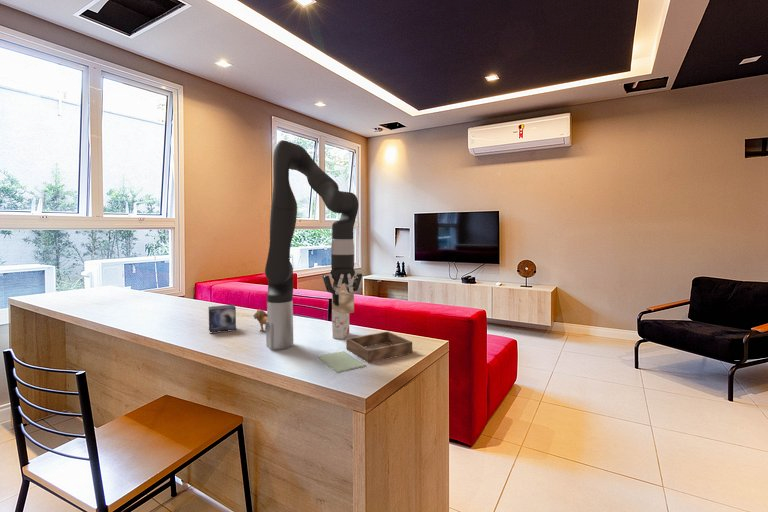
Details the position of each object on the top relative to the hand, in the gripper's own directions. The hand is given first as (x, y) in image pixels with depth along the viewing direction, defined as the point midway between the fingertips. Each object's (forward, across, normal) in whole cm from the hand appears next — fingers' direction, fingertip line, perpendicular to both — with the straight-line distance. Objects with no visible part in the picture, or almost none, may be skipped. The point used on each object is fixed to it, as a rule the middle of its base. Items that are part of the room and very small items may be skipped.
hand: (342, 304), depth 121 cm
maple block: (+2, 0, 0) cm, 2 cm away
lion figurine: (+20, -12, +50) cm, 55 cm away
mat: (+19, -1, 0) cm, 19 cm away
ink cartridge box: (+19, +13, +26) cm, 35 cm away
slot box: (+19, +15, +1) cm, 24 cm away
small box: (+20, -27, +62) cm, 70 cm away
